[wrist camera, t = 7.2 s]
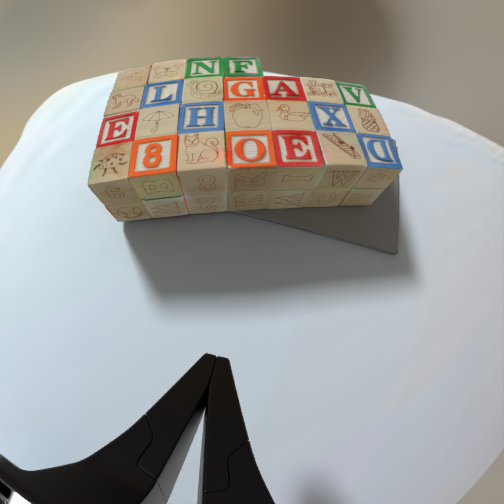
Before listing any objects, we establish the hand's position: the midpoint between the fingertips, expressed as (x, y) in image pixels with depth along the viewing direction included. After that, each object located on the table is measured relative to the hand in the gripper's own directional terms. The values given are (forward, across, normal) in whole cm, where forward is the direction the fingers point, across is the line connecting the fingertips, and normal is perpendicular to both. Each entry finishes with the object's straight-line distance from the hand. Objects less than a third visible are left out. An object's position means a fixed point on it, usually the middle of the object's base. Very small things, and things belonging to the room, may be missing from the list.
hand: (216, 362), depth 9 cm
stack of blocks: (+12, +1, -2) cm, 12 cm away
